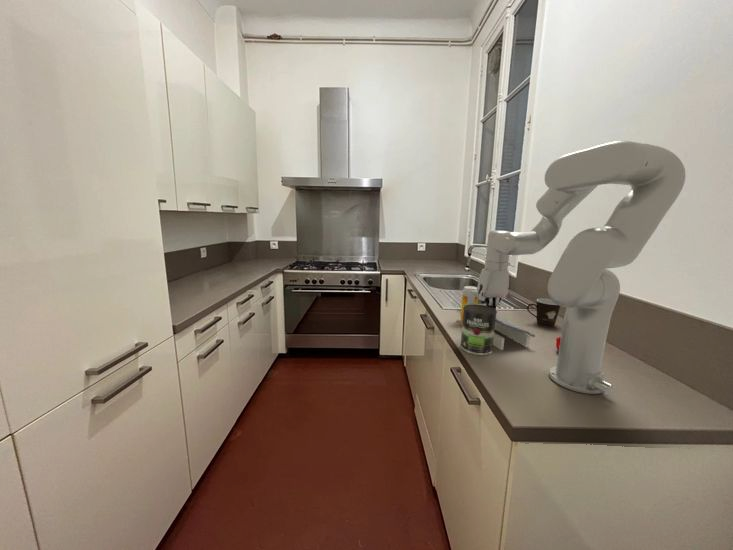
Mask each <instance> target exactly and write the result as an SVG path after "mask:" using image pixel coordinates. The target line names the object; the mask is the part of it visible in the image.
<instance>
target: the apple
mask: <svg viewBox="0 0 733 550" xmlns="http://www.w3.org/2000/svg"><path fill="white" fill-rule="evenodd" d="M555 340H556V343H555V346H556V349H557V351H559V347H560V340H561V336H560V337H557V338H556V339H555Z"/></svg>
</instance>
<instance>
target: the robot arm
mask: <svg viewBox="0 0 733 550" xmlns="http://www.w3.org/2000/svg"><path fill="white" fill-rule="evenodd" d="M685 182H686V168H685V166H684V163H683V162H682V160H681V159H680V157H678V155H676V154H675V153H674V152H672V151H671V150H669V149H667V148H664V147H661V146H659V145H658V146H657V145H654V144H649V143H641V142H635V141H629V140H616V141H612V142H607V143H604V144H600V145H596V146H593V147H590V148H586V149H585V148H584V149H582V150H577V151H575V152H571V153H567V154H564V155H562V156H560V157H558V158H557V159H555V160H554V161H553V162H551V163H550V165H549V166H548V167H547V169H546V171H545V173H544V184H545V185H546V187H547V188H548V189H547V190H546V191H545V192H544V193H543V195H542V196H540V198H539V199H538V200H537V201H536V203H535V206H536V209H537V211H538V213H539V214H540V215H541V216H542V217H541V219H540V221H539V222H538V223H537V224H536V225H535V226H534V227H532V229H531V230H530V231H509V230H501V229H499V230H494V229H493V230H490V231H489V232H488V234H487V235H488V236H487V243H486V250H485V251H486V252H485V260H484V268H482V269H481V271H480V274H479V276H478V277H479V278H478V283H477V286H476V287H477V294H479V297H478V299H480V300H482V301H485V303H486V306H488V307H491V308H494V309H495V310H496V311H497V306H498V305H499V303H500V302H501V301H503V300H506V299H507V295H508V292H509V287H510V272H509V270H508V269H509V266H510V265H511V263H510V262H509V261H510V256H523V255H524V256H525V255H535V254H537V253H540V252H541V251H542V250H543V249H545V248H546V247H547V246H548V245H549V244H550V243H552V241H554V239H555V238H556V237H557V235H559V232H560V230H561V228H562V224H563V220H564V219H565V218H566V217H567V216H568V215H569V214H570V213H571V212H572V211H573V210H574V209H575V208H576V207H578V205H579V204H580V203H582V201H584V199H586V198H587V197H588V196H589V195H590V194H591V193H592V192H593V191H594V190H595V189H596V188H597V187H598V186H600V185H611V184H612V185H623V186H625V185H626V186H630V187H631V188H630V191H629V192H628V193H627V194H626V195H625V196H624V197H623V198H621V200H620V201H619V202H618V203H617V205H616V206H615V208H614V209H613V211H612V213H611V214H610V217H609V218H608V219H607V221H606V223H605V224H604V225H603V226H602V227H600V226H599V227H591V228H587V229H584V230H581V231H579V232H578V233H577V234H576V235H574V236H573V238H572V239H571V240H570V241H569V242H568V243H567V245H566V247H565V249H564V250H563V253H562V254H561V255H560V258H559V260H558V262H557V264H556V265H555V267H554V269H553V271H552V272H551V275H550V277H549V278H548V279H549V280H548V283H547V294H548V296H549V298H550V299H551V300H552V301H553V302H554V303H556V304H557V305H559V306H560V307H562V308H566V310H565V313H564V317H563V323H562V326H561V327H562V328H561V335H560V337H561V340H560V347H559V350H558V354H557V362H556V365H554V366H552V367H550V368H549V370H548V376H549V377H550V378H551V380H552V381H553V382H554V383H556V384H558V385H560V386H561V387H563V388H565V389H567V390H568V389H569V390H571V391H573V392H576V393H581V394H587V395H588V394H589V395H597V394H604V395H605V396H608V395H610V394H611V392H612V390H613V389H614V386H613V385H612V383H609V382H607V381H605V373H604V372H601V369H602V364H603V359H604V353H605V348H606V342H607V337H608V332H609V328H610V322H611V319H612V315H613V312H614V309H615V307H616V304H617V302H618V299H619V296H620V292H621V283H620V280H619V278H618V276H617V275H616V274H615V273H614V272H613V271H611V270H610V269H615V268H622V267H625V266H628V265H630V264H632V263H633V262H634V261H635V260H636V259H637V257H639V255H640V253H641V252H642V251H643V249H644V247H645V246H646V244H647V243H648V242H649V240H650V239H651V237H652V235H653V234H654V232H655V231H656V230H657V228H658V227H659V225H660V223H661V222H662V220H663V219H664V218H665V216H666V214H667V213H668V212H669V210H670V209H671V208H672V206H673V205H674V203H675V202H676V200H677V199H678V197H679V195H680V194H681V193H682V190H683V188H684V185H685Z"/></svg>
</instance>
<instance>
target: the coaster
mask: <svg viewBox="0 0 733 550" xmlns="http://www.w3.org/2000/svg"><path fill="white" fill-rule="evenodd" d="M456 323H457V324H458V323H459V324H458V325H460V324H461V326H462V324H463V322H462V321H461V318H458V319H456Z"/></svg>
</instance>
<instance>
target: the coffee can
mask: <svg viewBox="0 0 733 550" xmlns="http://www.w3.org/2000/svg"><path fill="white" fill-rule="evenodd" d="M463 310H464V313H463V324H462V325H461V337H460V345H459V346H460V349H461V350H463V352H466V353H468V354H470V355H475V356H476V355H477V356H488V355H491V354H492V353H493V346H494V345H493V337H494V333H495V329H494V328H495V320H496V316H497V313H498V312H497V309H496V310H495V309H494V308H491V307H488V306H484V305H473V304H472V305H466V306H464V308H463Z"/></svg>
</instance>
